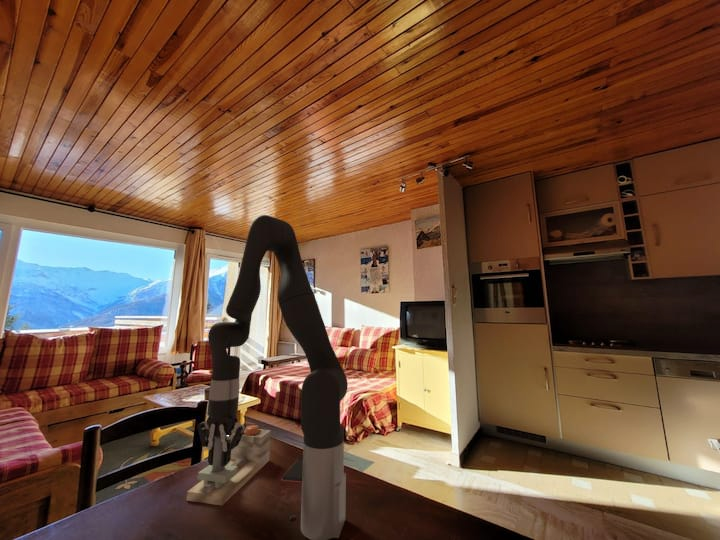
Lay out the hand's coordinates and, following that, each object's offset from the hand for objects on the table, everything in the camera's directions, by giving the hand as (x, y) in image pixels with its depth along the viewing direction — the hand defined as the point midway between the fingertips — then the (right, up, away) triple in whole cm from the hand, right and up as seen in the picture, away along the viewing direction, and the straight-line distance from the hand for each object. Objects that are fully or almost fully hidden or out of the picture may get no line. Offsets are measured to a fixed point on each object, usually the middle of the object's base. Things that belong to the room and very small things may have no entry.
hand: (218, 464), depth 76 cm
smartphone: (+20, -9, +10) cm, 24 cm away
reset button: (+3, -2, +15) cm, 15 cm away
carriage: (0, -4, -1) cm, 4 cm away
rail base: (+1, -8, +5) cm, 9 cm away
